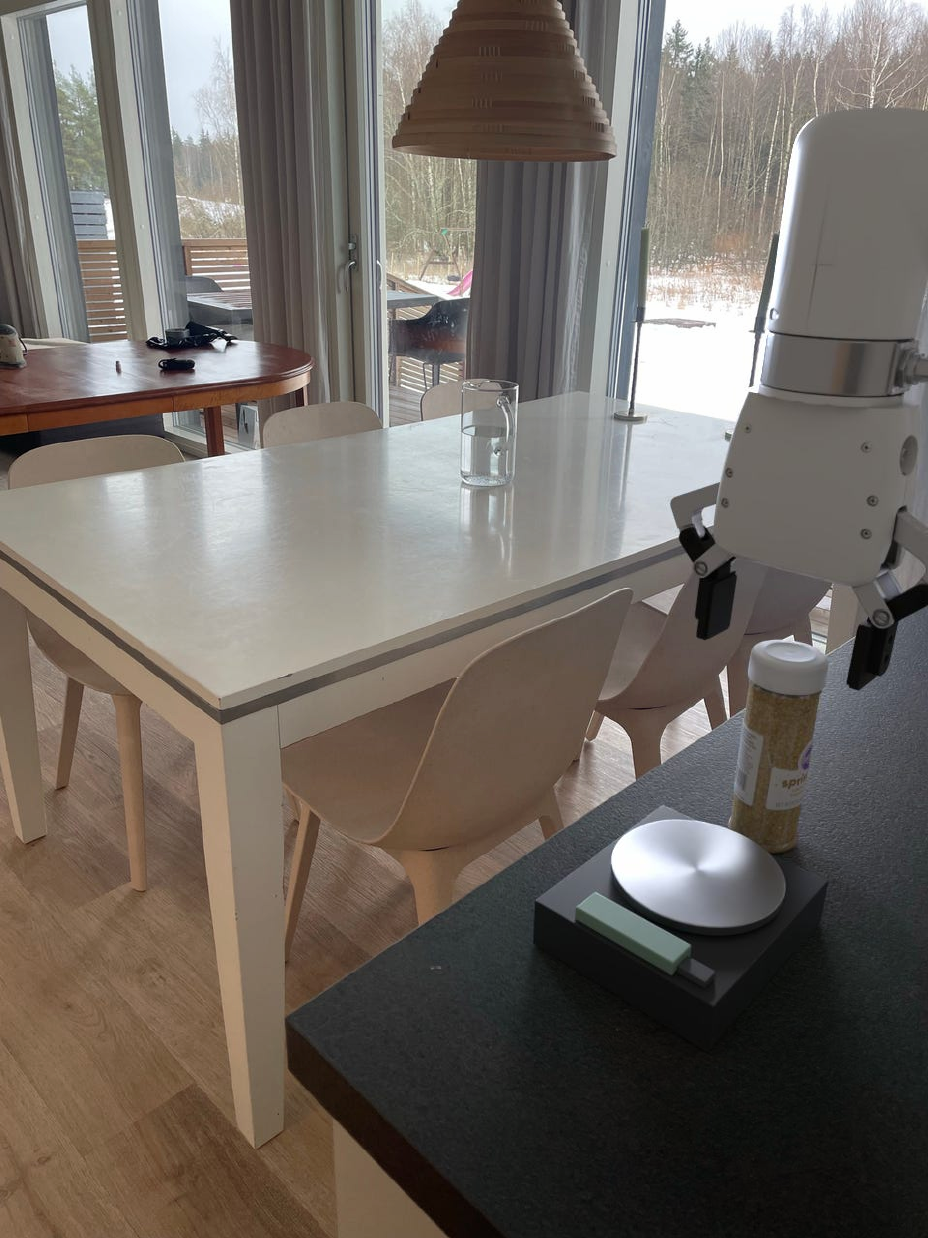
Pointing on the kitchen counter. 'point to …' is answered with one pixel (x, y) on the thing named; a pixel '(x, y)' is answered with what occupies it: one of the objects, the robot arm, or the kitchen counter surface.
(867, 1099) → the kitchen counter surface
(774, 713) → the sprinkles bottle
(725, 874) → the scale pan
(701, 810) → the kitchen counter surface
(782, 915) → the scale
